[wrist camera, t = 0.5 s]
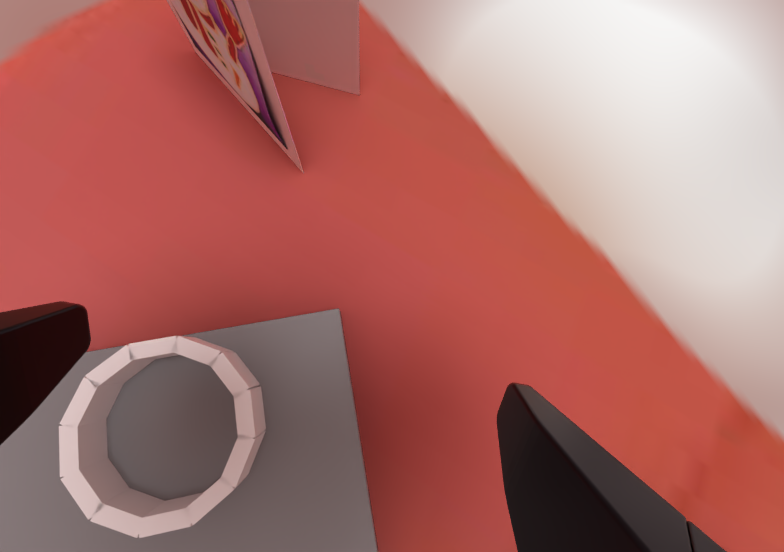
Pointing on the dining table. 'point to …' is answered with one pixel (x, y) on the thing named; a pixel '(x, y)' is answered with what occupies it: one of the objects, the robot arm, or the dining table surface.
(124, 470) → the duct flange
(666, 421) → the dining table surface
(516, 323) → the dining table surface
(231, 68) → the greeting card
